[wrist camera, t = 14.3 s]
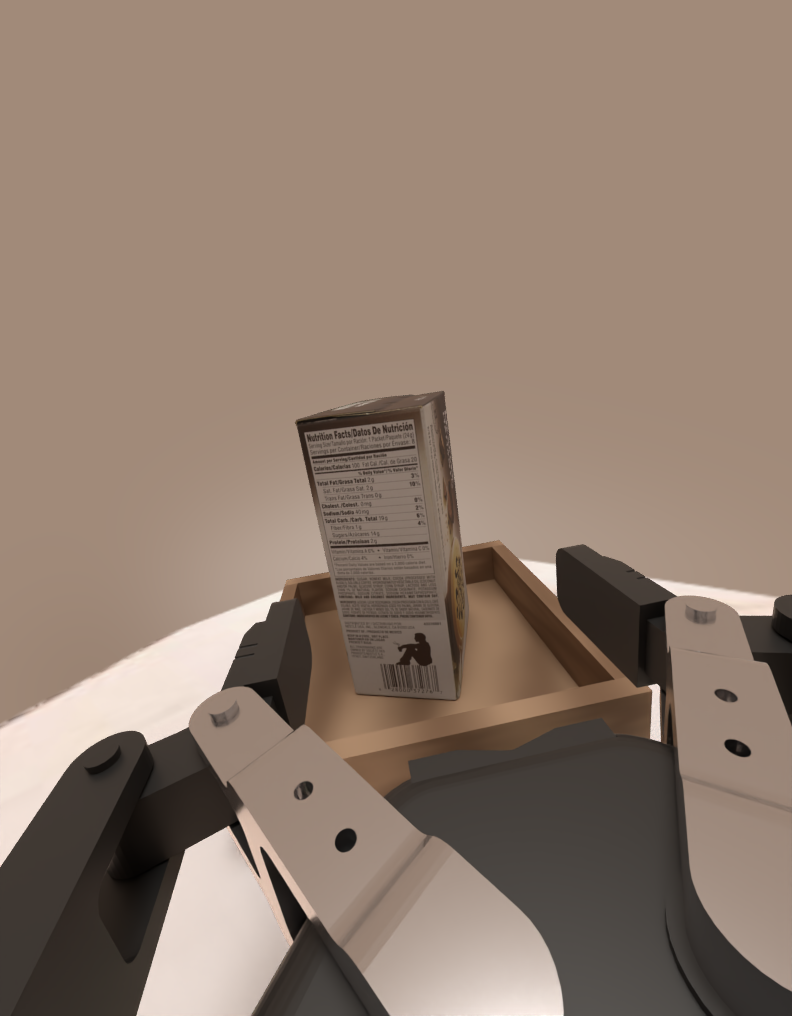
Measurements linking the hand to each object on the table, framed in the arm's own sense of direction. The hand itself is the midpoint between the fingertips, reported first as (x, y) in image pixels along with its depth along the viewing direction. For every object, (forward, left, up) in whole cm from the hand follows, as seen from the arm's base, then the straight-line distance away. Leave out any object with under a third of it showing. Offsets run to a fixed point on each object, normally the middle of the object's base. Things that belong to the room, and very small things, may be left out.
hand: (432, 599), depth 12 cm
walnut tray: (0, +11, -12) cm, 16 cm away
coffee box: (0, +12, -11) cm, 16 cm away
